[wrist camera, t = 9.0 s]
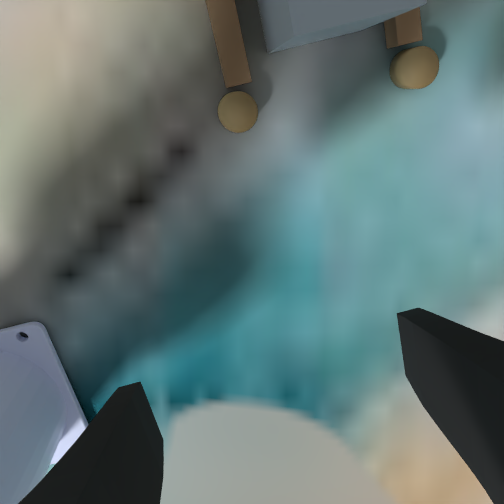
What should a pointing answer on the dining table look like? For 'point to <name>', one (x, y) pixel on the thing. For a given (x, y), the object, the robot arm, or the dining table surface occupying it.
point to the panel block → (323, 19)
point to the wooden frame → (237, 70)
